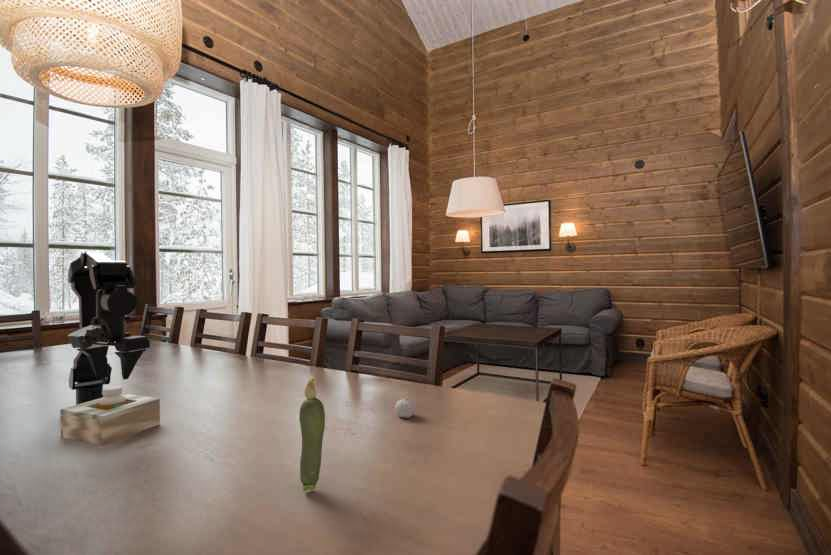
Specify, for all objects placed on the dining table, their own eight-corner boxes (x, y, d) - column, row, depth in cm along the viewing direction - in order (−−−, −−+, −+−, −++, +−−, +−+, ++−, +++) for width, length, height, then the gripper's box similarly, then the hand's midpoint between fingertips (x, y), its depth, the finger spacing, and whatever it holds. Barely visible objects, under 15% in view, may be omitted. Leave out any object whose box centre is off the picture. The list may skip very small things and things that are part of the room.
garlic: (420, 416, 114) (420, 397, 114) (406, 422, 110) (406, 401, 110) (404, 411, 118) (404, 392, 118) (390, 416, 114) (390, 396, 114)
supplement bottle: (112, 432, 101) (111, 391, 101) (92, 431, 102) (92, 390, 102) (131, 424, 106) (131, 385, 106) (113, 423, 107) (112, 384, 107)
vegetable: (302, 483, 78) (301, 373, 78) (326, 482, 78) (326, 373, 78) (297, 496, 74) (297, 380, 73) (323, 495, 74) (323, 379, 74)
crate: (60, 437, 99) (60, 409, 99) (119, 417, 113) (119, 392, 113) (103, 445, 95) (102, 416, 95) (159, 424, 108) (159, 398, 108)
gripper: (47, 314, 99) (48, 382, 99) (104, 317, 93) (105, 389, 93) (97, 310, 109) (97, 371, 109) (151, 312, 103) (152, 377, 103)
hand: (111, 377), depth 103 cm, fingers open, 9 cm apart
